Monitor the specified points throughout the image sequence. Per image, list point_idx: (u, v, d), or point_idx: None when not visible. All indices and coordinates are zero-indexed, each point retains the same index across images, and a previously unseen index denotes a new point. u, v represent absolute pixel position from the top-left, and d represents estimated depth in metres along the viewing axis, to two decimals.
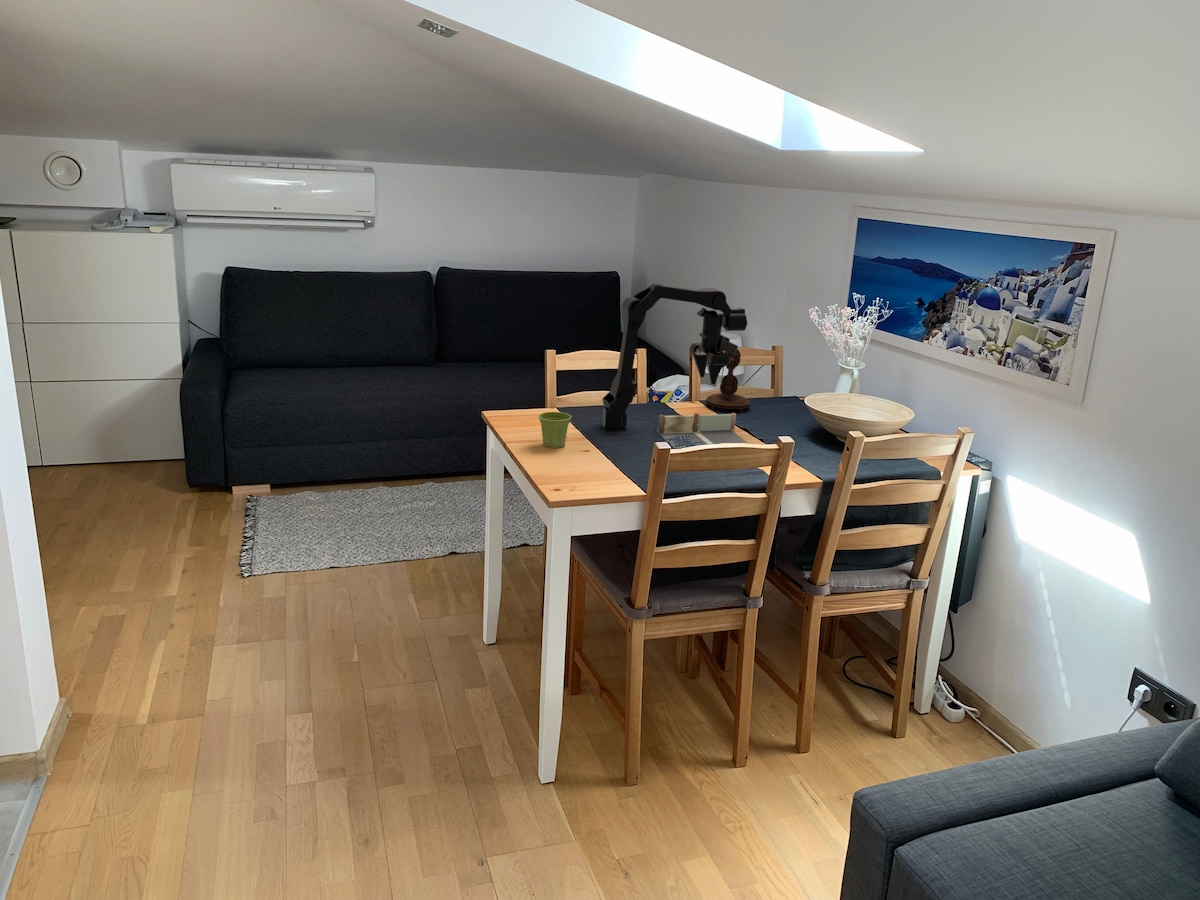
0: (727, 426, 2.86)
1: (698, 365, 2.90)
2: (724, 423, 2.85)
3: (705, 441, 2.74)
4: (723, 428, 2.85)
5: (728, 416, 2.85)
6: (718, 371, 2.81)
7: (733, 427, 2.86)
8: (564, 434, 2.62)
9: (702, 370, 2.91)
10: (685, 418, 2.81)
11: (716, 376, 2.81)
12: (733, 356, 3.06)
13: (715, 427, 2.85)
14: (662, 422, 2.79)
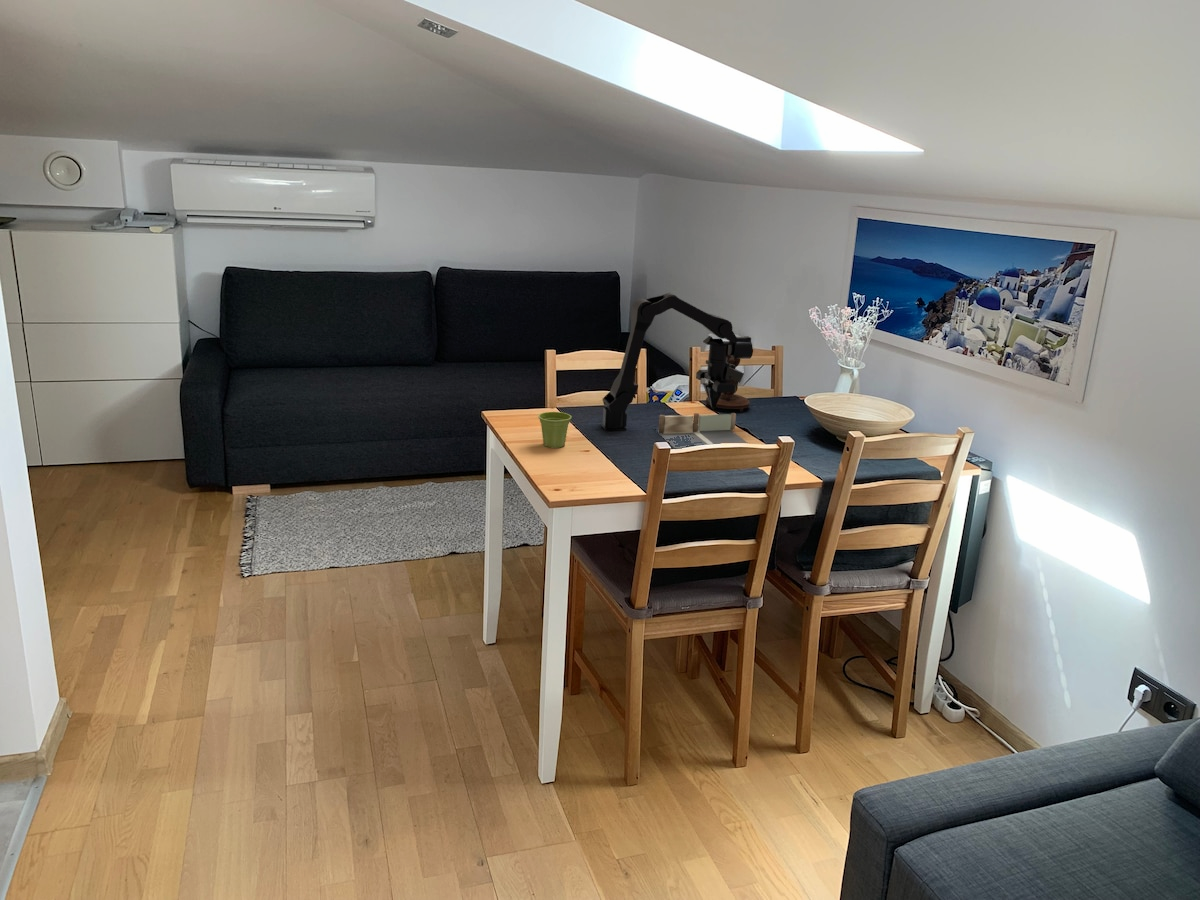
0: (727, 426, 2.86)
1: None
2: (724, 423, 2.85)
3: (705, 441, 2.74)
4: (723, 428, 2.85)
5: (728, 416, 2.85)
6: (718, 395, 2.87)
7: (733, 427, 2.86)
8: (564, 434, 2.62)
9: None
10: (685, 418, 2.81)
11: (716, 400, 2.88)
12: None
13: (715, 427, 2.85)
14: (662, 422, 2.79)
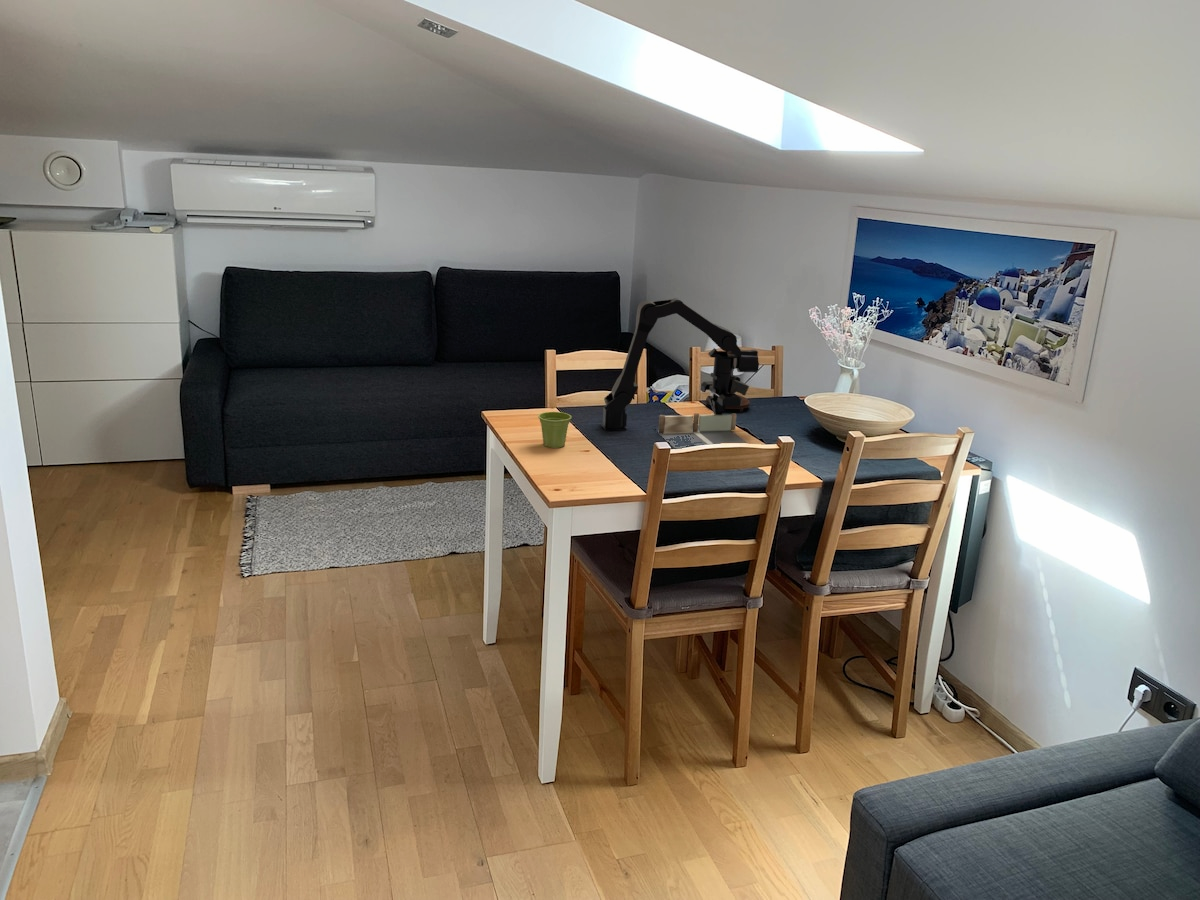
0: (727, 426, 2.85)
1: None
2: (724, 423, 2.85)
3: (705, 441, 2.74)
4: (724, 428, 2.85)
5: (728, 416, 2.84)
6: (723, 408, 2.84)
7: (733, 427, 2.86)
8: (564, 434, 2.62)
9: None
10: (685, 418, 2.81)
11: (721, 413, 2.85)
12: None
13: (716, 427, 2.85)
14: (662, 422, 2.79)
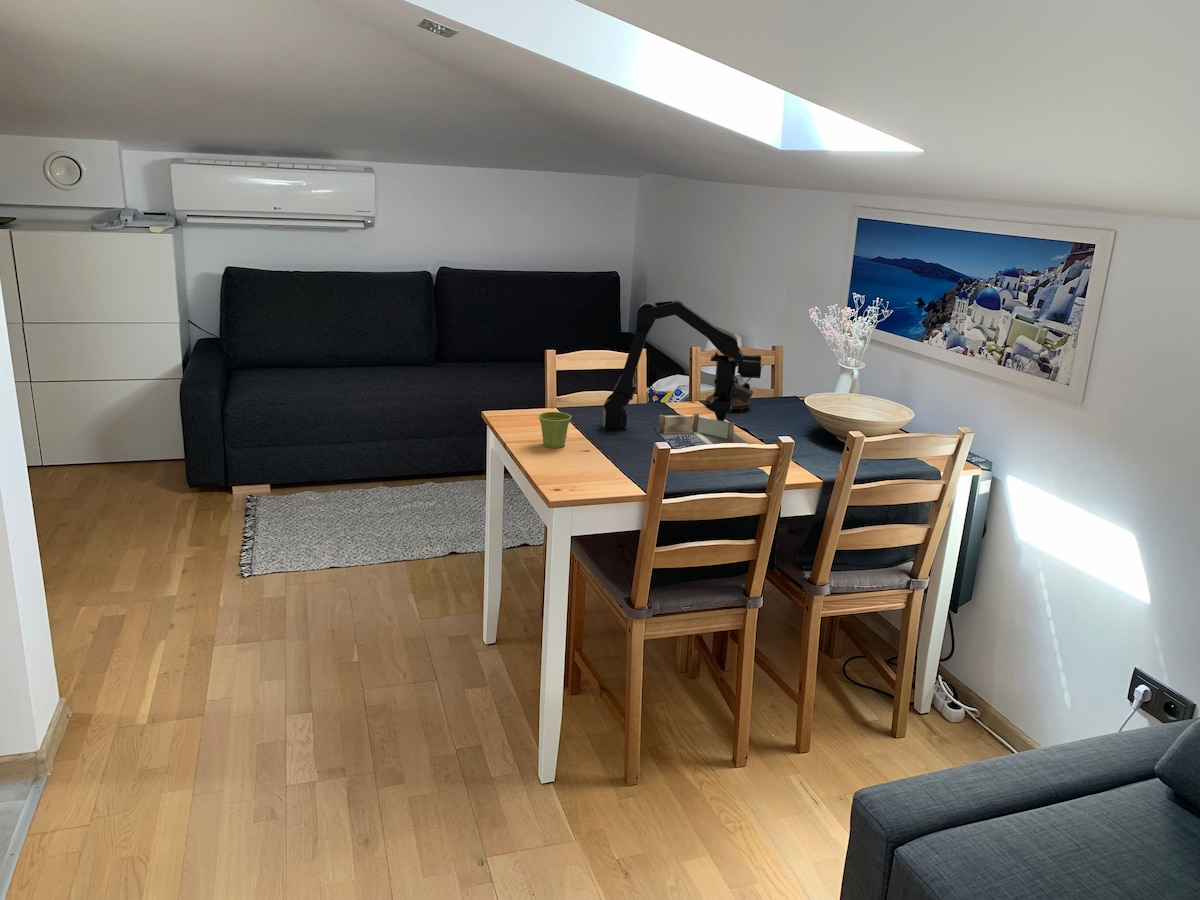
0: (724, 434, 2.77)
1: None
2: (721, 430, 2.78)
3: (705, 441, 2.74)
4: (720, 435, 2.78)
5: (725, 424, 2.76)
6: (724, 413, 2.78)
7: (729, 436, 2.76)
8: (564, 434, 2.62)
9: None
10: (685, 418, 2.81)
11: (723, 418, 2.79)
12: None
13: (713, 432, 2.79)
14: (662, 422, 2.79)
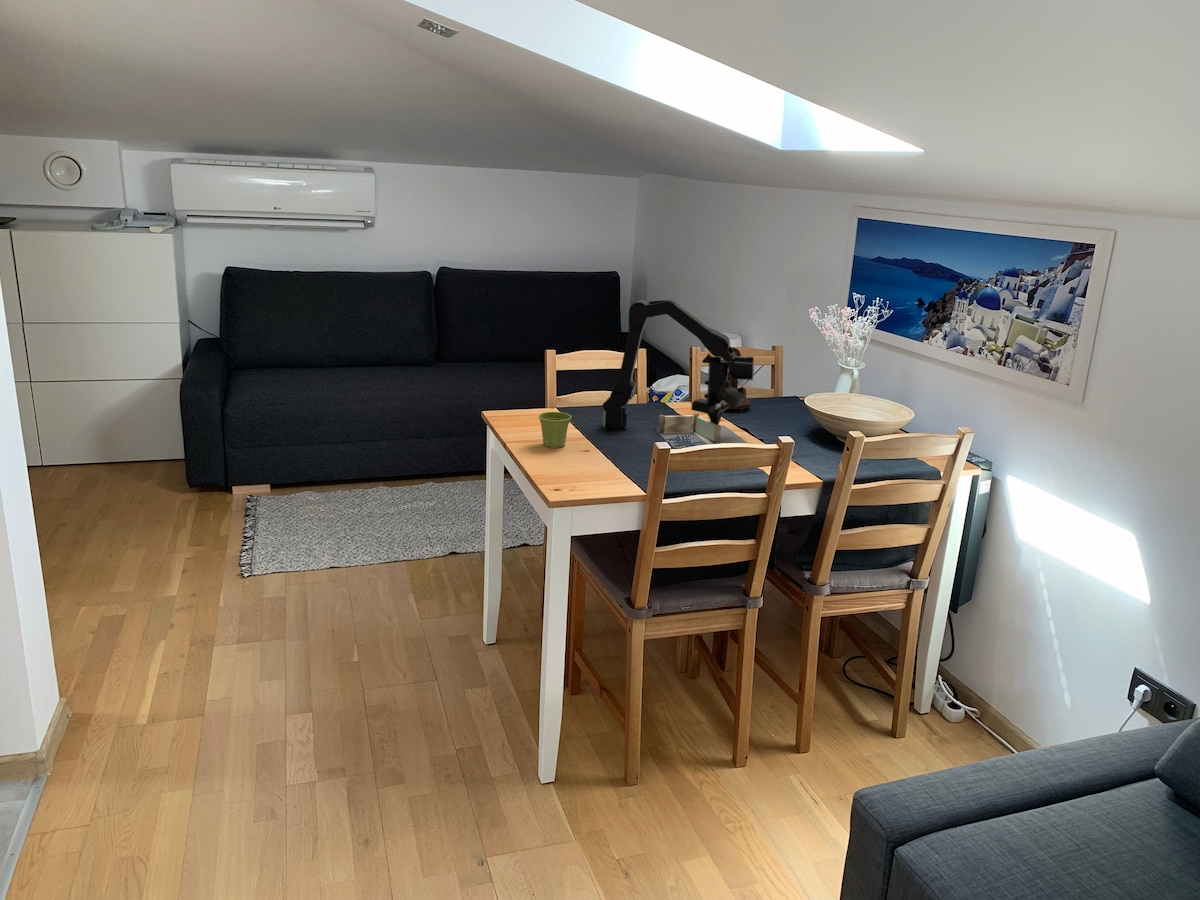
0: (712, 436, 2.74)
1: None
2: (710, 432, 2.75)
3: (705, 441, 2.74)
4: (710, 437, 2.76)
5: (713, 426, 2.73)
6: (716, 415, 2.75)
7: (715, 439, 2.73)
8: (564, 434, 2.62)
9: None
10: (685, 418, 2.81)
11: (715, 420, 2.76)
12: None
13: (705, 433, 2.78)
14: (662, 422, 2.79)
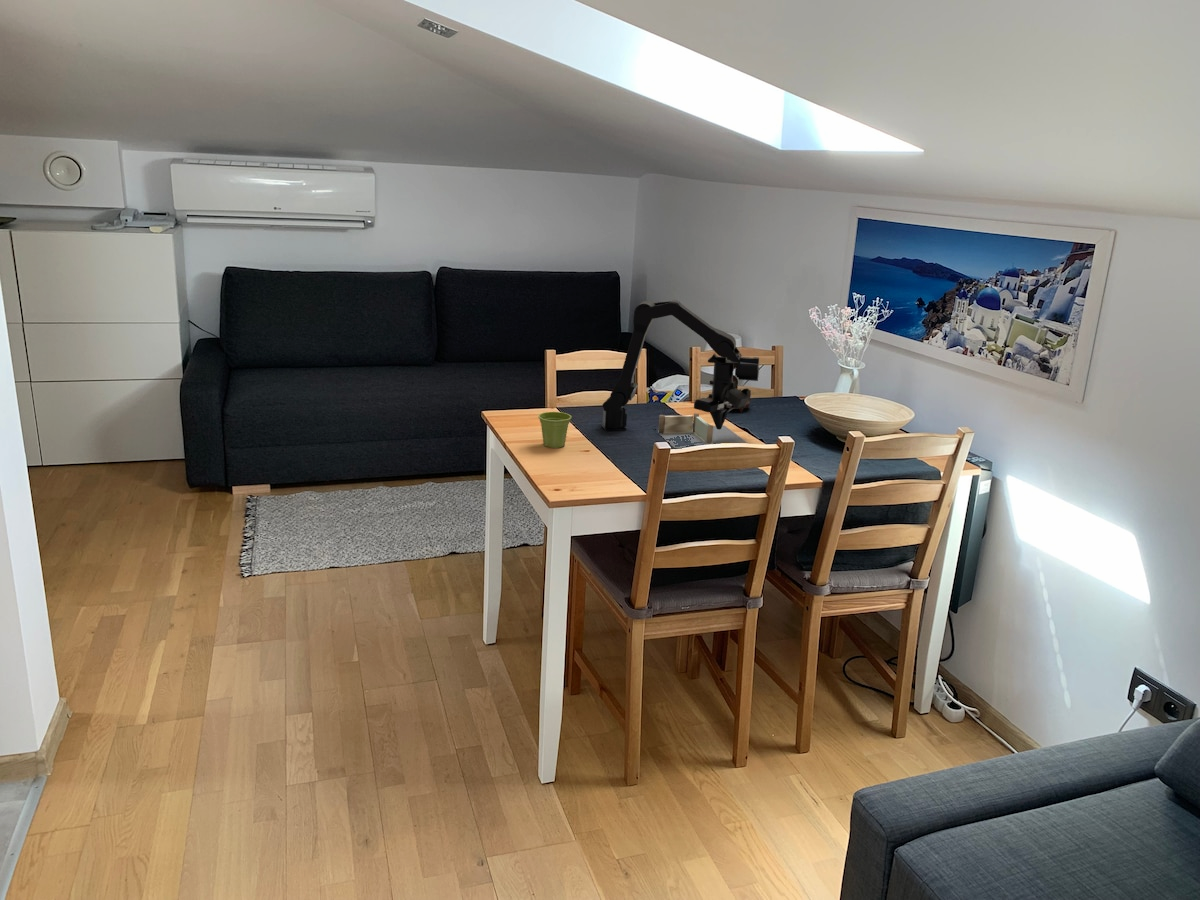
0: (705, 436, 2.74)
1: None
2: (704, 432, 2.75)
3: (705, 441, 2.74)
4: (703, 437, 2.75)
5: (706, 426, 2.73)
6: (718, 416, 2.74)
7: (707, 439, 2.72)
8: (564, 434, 2.62)
9: None
10: (685, 418, 2.81)
11: (718, 421, 2.75)
12: None
13: (700, 434, 2.77)
14: (662, 422, 2.79)
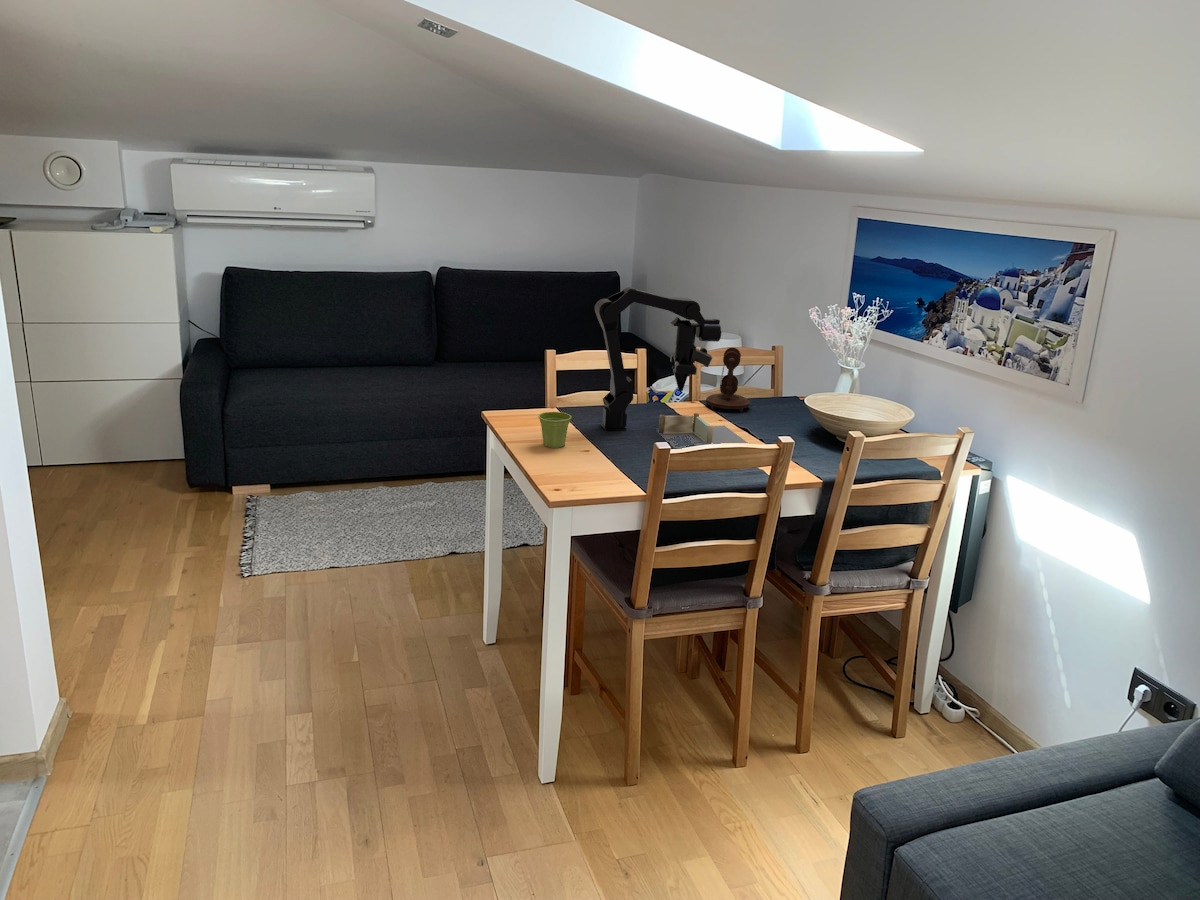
0: (705, 436, 2.74)
1: None
2: (704, 432, 2.75)
3: (705, 441, 2.74)
4: (703, 437, 2.75)
5: (706, 426, 2.73)
6: (685, 378, 2.82)
7: (707, 439, 2.72)
8: (564, 434, 2.62)
9: None
10: (685, 418, 2.81)
11: (683, 383, 2.83)
12: (733, 356, 3.06)
13: (700, 434, 2.77)
14: (662, 422, 2.79)
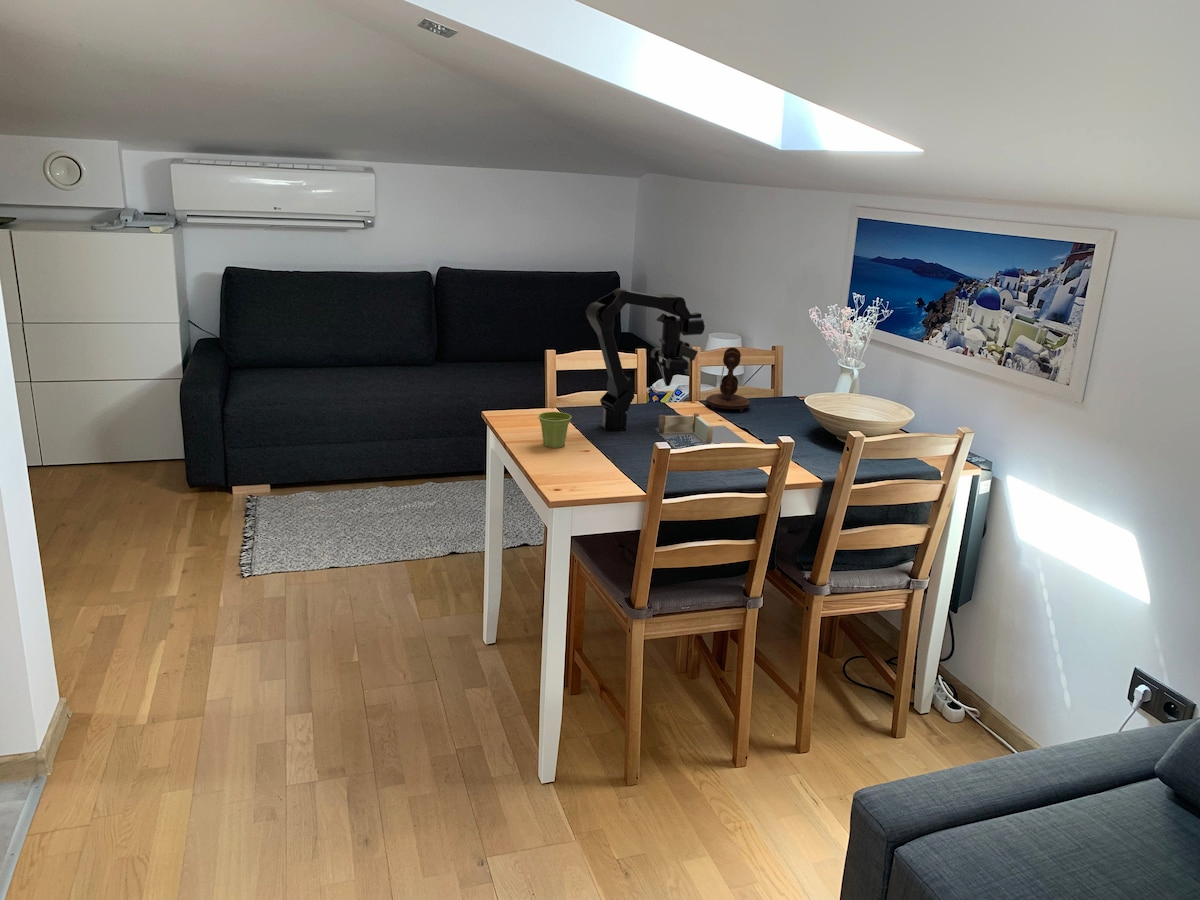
0: (705, 436, 2.74)
1: None
2: (704, 432, 2.75)
3: (705, 441, 2.74)
4: (703, 437, 2.75)
5: (706, 426, 2.73)
6: (672, 373, 2.86)
7: (707, 439, 2.72)
8: (564, 434, 2.62)
9: None
10: (685, 418, 2.81)
11: (670, 378, 2.87)
12: (733, 356, 3.06)
13: (700, 434, 2.77)
14: (662, 422, 2.79)
